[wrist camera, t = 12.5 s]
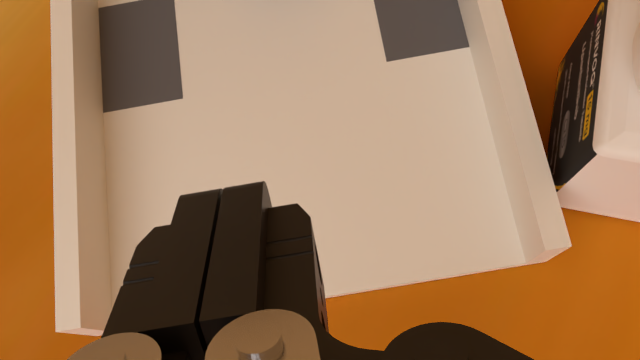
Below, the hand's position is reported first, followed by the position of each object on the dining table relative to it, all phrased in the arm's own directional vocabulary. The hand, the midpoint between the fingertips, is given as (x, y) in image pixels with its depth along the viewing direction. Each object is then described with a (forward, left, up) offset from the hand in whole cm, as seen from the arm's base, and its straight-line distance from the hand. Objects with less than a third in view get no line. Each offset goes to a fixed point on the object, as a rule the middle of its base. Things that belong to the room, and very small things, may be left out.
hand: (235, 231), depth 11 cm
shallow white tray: (0, +13, -16) cm, 21 cm away
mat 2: (+7, +14, -16) cm, 22 cm away
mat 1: (-7, +14, -16) cm, 22 cm away
